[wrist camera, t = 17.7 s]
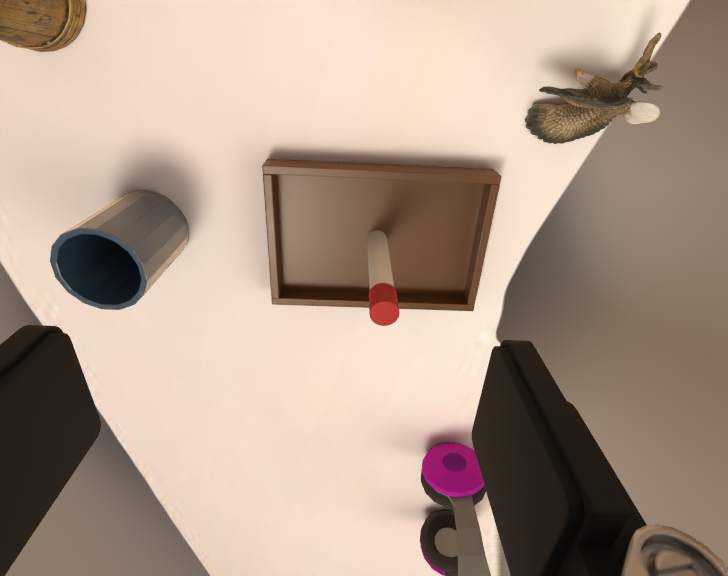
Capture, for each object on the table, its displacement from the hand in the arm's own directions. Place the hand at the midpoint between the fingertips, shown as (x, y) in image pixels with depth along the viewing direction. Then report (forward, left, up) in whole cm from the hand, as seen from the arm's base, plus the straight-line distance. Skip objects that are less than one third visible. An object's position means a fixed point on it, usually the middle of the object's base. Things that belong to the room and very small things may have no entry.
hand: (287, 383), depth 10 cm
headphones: (+50, +17, -34) cm, 63 cm away
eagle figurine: (-4, +21, -34) cm, 40 cm away
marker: (+10, +4, -33) cm, 34 cm away
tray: (+10, +4, -33) cm, 35 cm away
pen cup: (+10, -19, -33) cm, 40 cm away
